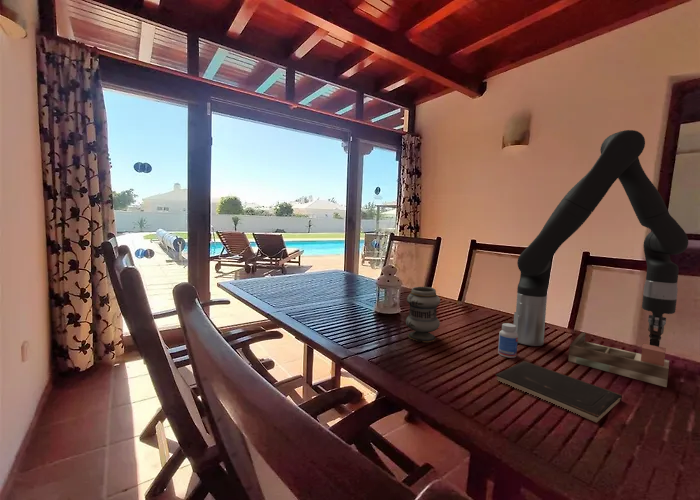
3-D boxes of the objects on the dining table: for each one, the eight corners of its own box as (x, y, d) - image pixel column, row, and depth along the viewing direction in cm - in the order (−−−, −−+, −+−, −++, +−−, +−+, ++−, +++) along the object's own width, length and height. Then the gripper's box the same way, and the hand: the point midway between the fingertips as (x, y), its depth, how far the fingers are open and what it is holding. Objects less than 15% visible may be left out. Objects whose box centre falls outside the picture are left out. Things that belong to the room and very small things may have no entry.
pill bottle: (518, 359, 103) (521, 328, 102) (500, 357, 104) (502, 327, 103) (513, 352, 108) (515, 323, 108) (496, 350, 110) (498, 321, 109)
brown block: (640, 360, 99) (642, 347, 98) (642, 356, 102) (643, 343, 102) (663, 366, 95) (665, 352, 95) (664, 361, 99) (665, 348, 98)
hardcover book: (596, 426, 70) (597, 416, 70) (494, 382, 89) (495, 374, 89) (621, 403, 80) (622, 393, 80) (524, 367, 98) (525, 360, 98)
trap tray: (568, 361, 102) (569, 345, 102) (580, 346, 115) (582, 332, 115) (666, 387, 87) (668, 368, 86) (668, 366, 100) (670, 350, 99)
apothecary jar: (403, 341, 116) (405, 290, 114) (406, 330, 128) (407, 284, 126) (439, 345, 113) (441, 293, 112) (438, 333, 125) (440, 286, 123)
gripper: (676, 301, 94) (670, 360, 96) (676, 294, 103) (670, 348, 105) (641, 296, 99) (636, 353, 101) (644, 290, 109) (639, 342, 110)
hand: (653, 350), depth 103 cm, fingers closed
